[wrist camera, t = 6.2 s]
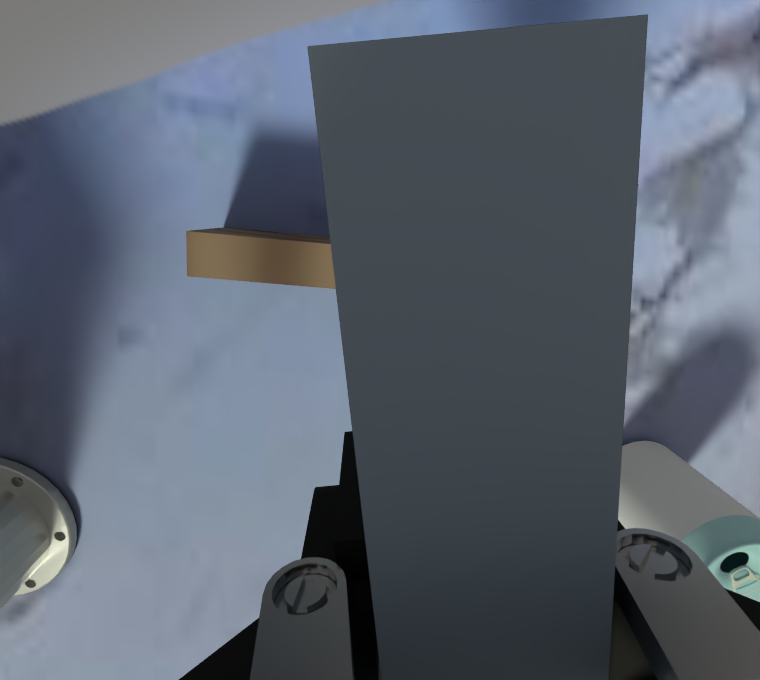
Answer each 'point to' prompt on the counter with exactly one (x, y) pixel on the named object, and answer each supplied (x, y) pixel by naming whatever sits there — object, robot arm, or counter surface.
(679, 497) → the can
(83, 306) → the counter surface
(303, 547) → the robot arm
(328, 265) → the walnut slotted board
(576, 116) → the plain grey board
